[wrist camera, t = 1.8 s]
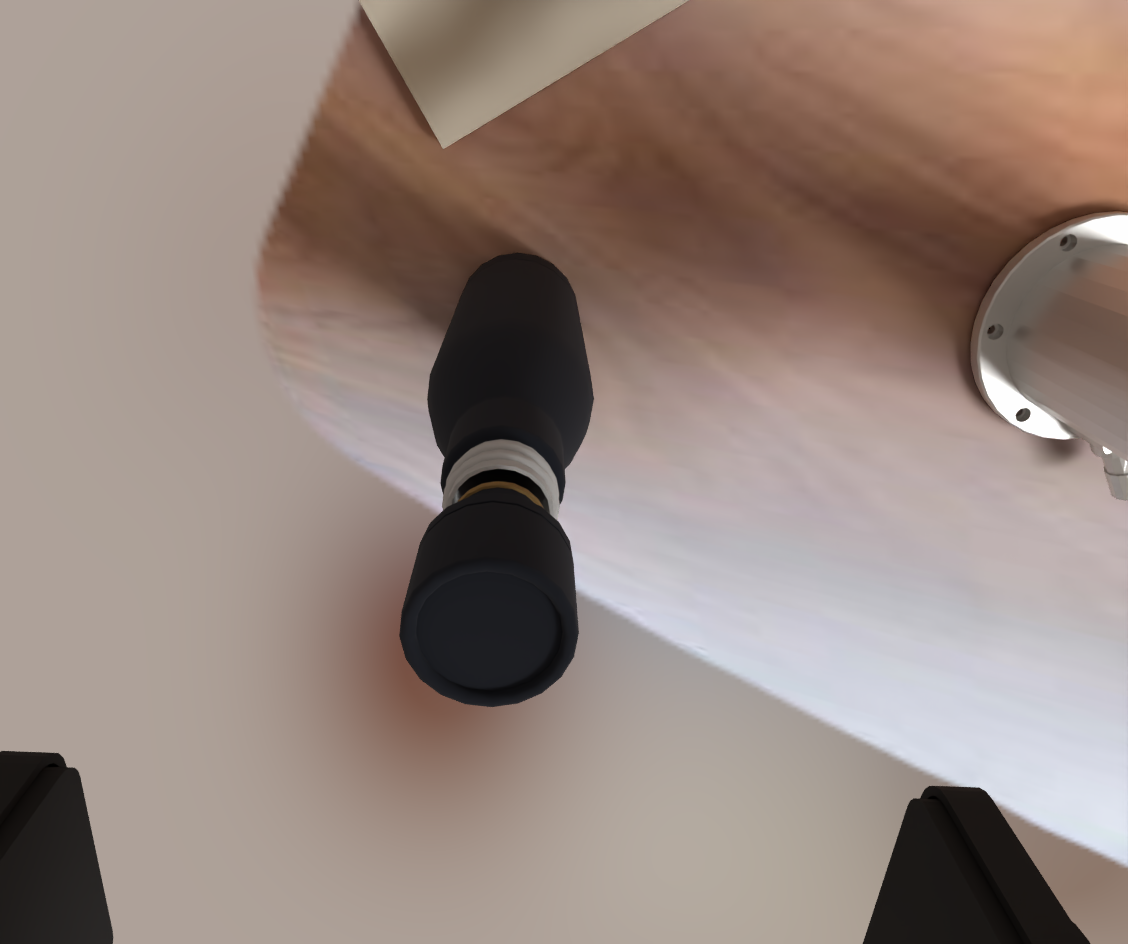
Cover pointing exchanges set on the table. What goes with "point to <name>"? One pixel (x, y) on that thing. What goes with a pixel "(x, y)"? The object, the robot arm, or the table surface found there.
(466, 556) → the wine bottle
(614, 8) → the bottle stand
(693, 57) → the table surface
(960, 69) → the table surface
